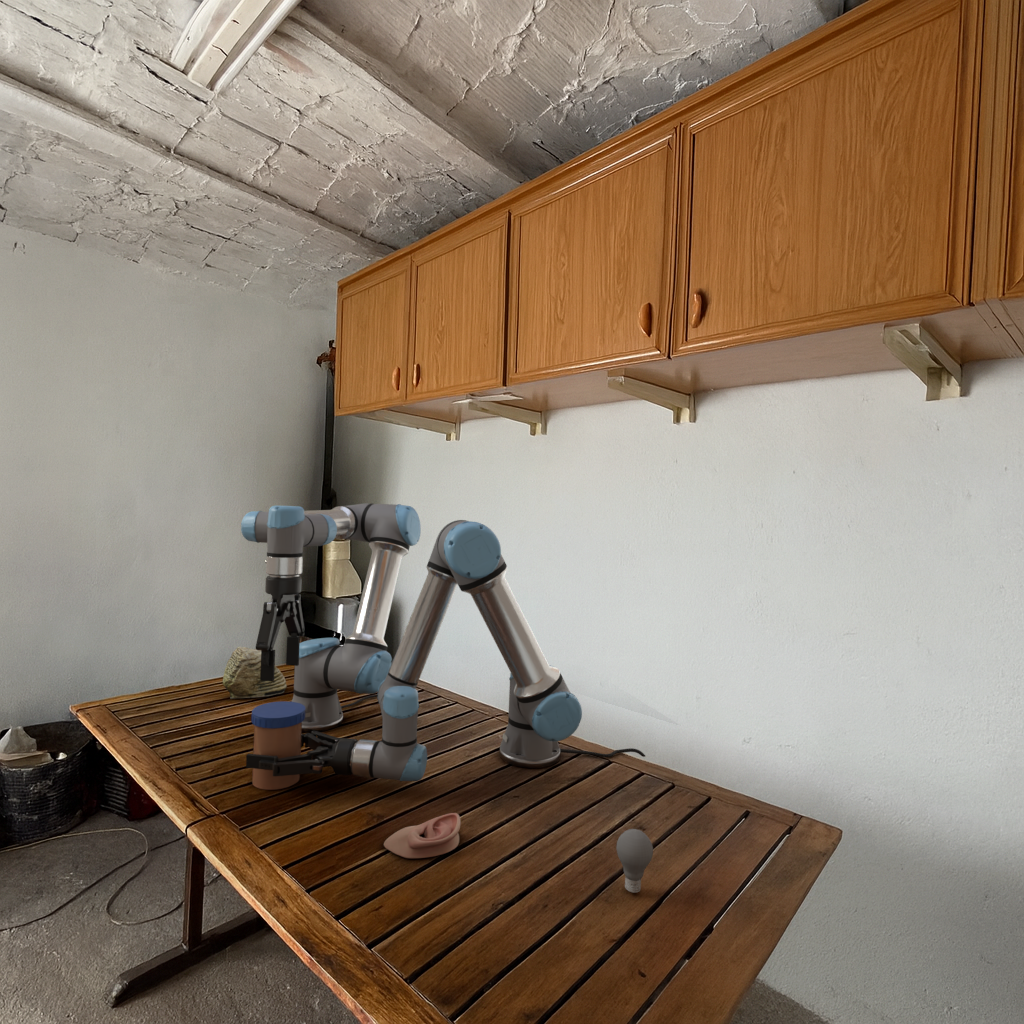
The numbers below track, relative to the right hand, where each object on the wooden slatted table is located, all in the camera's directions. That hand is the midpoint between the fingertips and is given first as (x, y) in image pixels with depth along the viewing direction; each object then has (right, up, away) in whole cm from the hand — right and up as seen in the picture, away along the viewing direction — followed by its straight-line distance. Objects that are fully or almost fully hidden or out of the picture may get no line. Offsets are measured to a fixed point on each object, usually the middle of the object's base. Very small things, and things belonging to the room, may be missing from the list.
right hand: (262, 748), depth 141 cm
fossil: (-25, -4, +57) cm, 62 cm away
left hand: (+4, +17, -1) cm, 18 cm away
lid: (+4, +9, 0) cm, 9 cm away
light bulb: (+76, -11, -35) cm, 84 cm away
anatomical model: (+39, -9, -24) cm, 46 cm away
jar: (+3, -7, 0) cm, 7 cm away
